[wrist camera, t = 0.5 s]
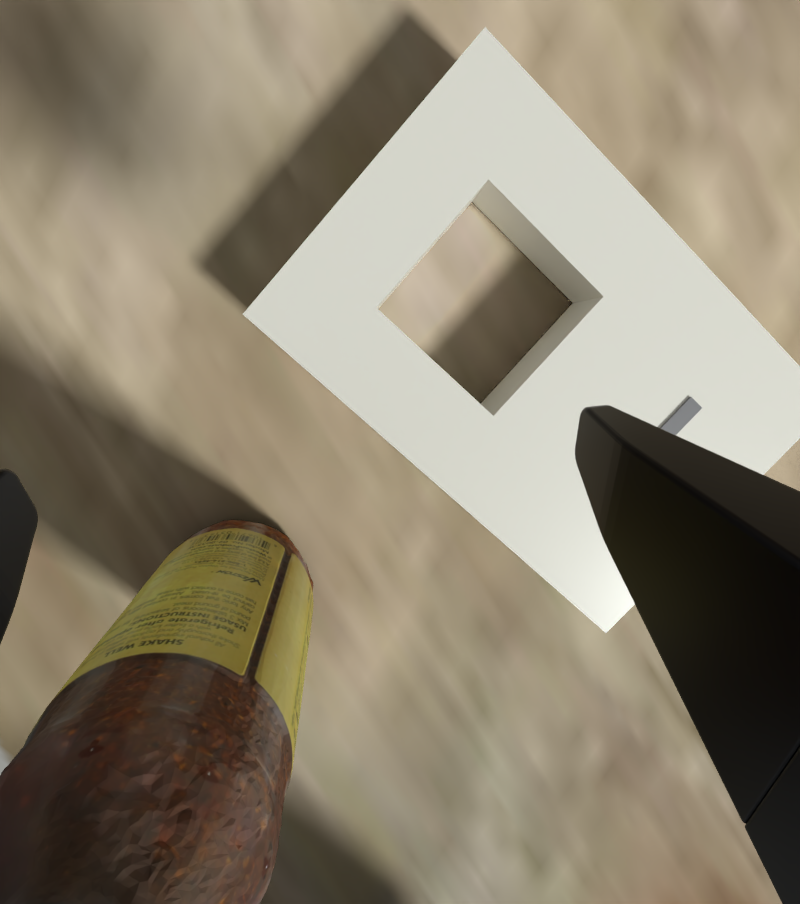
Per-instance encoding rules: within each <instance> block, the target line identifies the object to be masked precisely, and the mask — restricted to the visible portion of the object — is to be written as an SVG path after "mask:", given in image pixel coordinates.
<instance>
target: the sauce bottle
mask: <svg viewBox="0 0 800 904" xmlns="http://www.w3.org/2000/svg"><path fill="white" fill-rule="evenodd" d="M312 592H313V581H312V579H311V577H310V574H309V571H308V567H307V564H306V563H305V562H304V560H303V558H302V556H301V554H300V553H299V551H298V550H297V549H296V548H295V546H294V544H293V543H292V542H291V541H290V540H289V538H288V537H287V536H286V535H284V534H282V533H281V532H279V531H278V530H276V529H274V528H272V527H270V526H267V525H264V524H262V523H253V522H248V521H243V520H227V521H221V522H219V523H216V524H213V525H211V526H210V527H208V528H205V529H203V530H201V531H199V532H197V533H196V534H194V535H192V536H191V537H189V538H188V539H187V540H185V541H184V542H183V543H182V544H180V545H179V546H178V547H177V548H176V549H175V550H173V551H172V552H171V553H170V554H169V555H168V556H167V557H166V559H165V560H164V561H163V562H162V564H161V565H160V566H159V567H158V569H157V570H156V571H155V572H154V574H153V575H152V576H151V577H150V578H149V580H148V581H147V582H146V583H145V585H144V586H143V587H142V589H141V590H140V591H139V592H138V594H137V595H136V596H135V598H134V599H133V600H132V602H131V603H130V604H129V605H128V607H127V608H126V609H125V610H124V612H123V613H122V614H121V615H120V617H119V618H118V619H117V620H116V621H115V623H114V624H113V625H112V626H111V628H110V629H109V630H108V631H107V633H106V634H105V635H104V636H103V637H102V639H101V640H100V641H99V642H98V643H97V645H96V646H95V647H94V648H93V650H92V651H91V652H90V653H89V655H88V656H87V657H86V658H85V660H84V661H83V662H82V663H81V665H80V666H79V667H78V668H77V670H76V671H75V672H74V673H73V675H72V676H71V677H70V678H69V680H68V681H67V682H66V684H65V685H64V686H63V687H62V689H61V690H60V691H59V692H58V694H57V695H56V696H55V698H54V699H53V700H52V701H51V703H50V704H49V705H48V706H47V708H46V709H45V711H44V712H43V714H42V715H41V717H40V718H39V720H38V722H37V723H36V725H35V726H34V728H33V730H32V731H31V733H30V735H29V736H28V738H27V740H26V742H25V745H24V746H23V748H22V749H21V750H20V752H19V753H18V754H17V755H16V757H15V758H14V759H13V760H12V761H11V763H10V764H9V765H8V766H7V767H6V768H5V769H4V770H3V772H2V773H1V775H0V904H260V902H261V900H262V898H263V896H264V894H265V893H266V891H267V888H268V885H269V883H270V880H271V876H272V871H273V868H274V866H275V860H276V854H277V850H278V844H279V834H280V828H281V826H282V820H281V815H282V810H283V802H284V797H285V794H286V791H287V788H288V785H289V782H290V778H291V773H292V768H293V760H294V752H295V744H296V737H297V730H298V724H299V716H300V708H301V700H302V692H303V684H304V676H305V668H306V660H307V652H308V645H309V638H310V630H311V622H312V613H313V593H312Z"/></svg>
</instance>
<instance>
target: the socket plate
mask: <svg viewBox="0 0 800 904" xmlns="http://www.w3.org/2000/svg"><path fill="white" fill-rule="evenodd" d="M471 202H473V203H474V204H475V205H476V206H477V207H478V208H479V209H480V210H481V211H482V212H483V213H484V214H485V215H486V216H487V217H488V218H489V219H490V220H491V221H492V222H493V223H494V224H495V225H496V226H497V227H498V228H499V229H500V230H501V231H502V232H503V233H504V234H505V235H506V236H507V237H508V238H509V239H510V240H511V241H512V242H513V244H514V245H515V246H516V247H517V248H518V249H519V250H520V251H521V252H522V253H523V254H524V255H525V256H526V257H527V258H528V259H529V260H530V261H531V262H532V263H533V264H534V265H535V266H536V267H537V268H538V269H539V270H540V271H541V272H542V273H543V274H544V275H545V276H546V277H547V278H548V279H549V280H550V281H551V282H552V283H553V284H554V285H555V286H556V287H557V288H558V289H559V290H560V291H561V292H562V293H563V294H564V295H565V296H566V297H567V298H568V299H569V300H570V301H571V302H572V304H571V306H570V307H569V308H568V309H567V310H566V311H565V312H564V313H563V314H562V315H561V316H560V318H559V319H558V320H557V321H556V322H555V323H554V324H553V325H552V326H551V327H550V329H549V330H548V331H547V332H546V333H545V334H544V335H543V336H542V337H541V338H540V339H539V341H538V342H537V343H536V344H535V345H534V346H533V347H532V348H531V349H530V350H529V351H528V353H527V354H526V355H525V356H524V357H523V358H522V359H521V360H520V361H519V362H518V363H517V365H516V366H515V367H514V368H513V369H512V370H511V371H510V372H509V373H508V374H507V375H506V377H505V378H504V379H503V380H502V381H501V382H500V383H499V384H498V385H497V386H496V388H495V389H494V390H493V391H492V392H491V393H490V394H489V395H488V396H487V397H486V398H485V400H484V401H483V402H482V403H481V404H480V403H479V402H478V401H477V400H476V399H475V398H474V397H472V396H471V395H470V394H469V393H468V392H467V391H466V390H465V389H464V388H463V387H462V386H461V385H459V384H458V383H457V382H456V381H455V380H454V379H453V378H452V377H451V376H450V375H449V374H448V373H446V372H445V371H444V370H443V369H442V368H441V367H440V366H439V365H438V364H437V363H436V362H435V361H434V360H432V359H431V358H430V357H429V356H428V355H427V354H426V353H425V352H424V351H423V350H422V349H421V348H419V347H418V346H417V345H416V344H415V343H414V342H413V341H412V340H411V339H410V338H409V337H408V336H407V335H405V334H404V333H403V332H402V331H401V330H400V329H399V328H398V327H397V326H396V325H395V324H394V323H392V322H391V321H390V320H389V319H388V318H387V317H386V316H385V315H384V314H383V313H382V312H381V311H380V310H378V309H379V308H380V307H381V305H382V304H383V303H384V302H385V301H386V300H387V299H388V297H389V296H390V295H391V294H392V293H393V292H394V291H395V289H396V288H397V287H398V286H399V285H400V284H401V283H402V281H403V280H404V279H405V278H406V277H407V276H408V275H409V273H410V272H411V271H412V270H413V269H414V268H415V266H416V265H417V264H418V263H419V262H420V261H421V260H422V258H423V257H424V256H425V255H426V254H427V253H428V252H429V250H430V249H431V248H432V247H433V246H434V245H435V244H436V242H437V241H438V240H439V239H440V238H441V237H442V236H443V234H444V233H445V232H446V231H447V230H448V229H449V228H450V226H451V225H452V224H453V223H454V222H455V221H456V220H457V218H458V217H459V216H460V215H461V214H462V213H463V212H464V210H465V209H466V208H467V207H468V206H469V205H470V204H471ZM243 315H244V316H245V317H246V318H248V319H249V320H250V321H251V322H252V323H253V324H254V325H256V326H257V327H258V328H259V329H260V330H261V331H262V332H263V333H265V334H266V335H267V336H268V337H269V338H270V339H271V340H273V341H274V342H275V343H276V344H277V345H278V346H279V347H281V348H282V349H283V350H284V351H285V352H286V353H287V354H289V355H290V356H291V357H292V358H293V359H294V360H295V361H297V362H298V363H299V364H300V365H301V366H302V367H303V368H305V369H306V370H307V371H308V372H309V373H310V374H311V375H312V376H314V377H315V378H316V379H317V380H318V381H319V382H320V383H322V384H323V385H324V386H325V387H326V388H327V389H328V390H330V391H331V392H332V393H333V394H334V395H335V396H336V397H338V398H339V399H340V400H341V401H342V402H343V403H344V404H346V405H347V406H348V407H349V408H350V409H351V410H352V411H353V412H355V413H356V414H357V415H358V416H359V417H360V418H361V419H363V420H364V421H365V422H366V423H367V424H368V425H369V426H371V427H372V428H373V429H374V430H375V431H376V432H377V433H379V434H380V435H381V436H382V437H383V438H384V439H385V440H387V441H388V442H389V443H390V444H391V445H392V446H393V447H394V448H396V449H397V450H398V451H399V452H400V453H401V454H402V455H404V456H405V457H406V458H407V459H408V460H409V461H410V462H412V463H413V464H414V465H415V466H416V467H417V468H418V469H420V470H421V471H422V472H423V473H424V474H425V475H426V476H428V477H429V478H430V479H431V480H432V481H433V482H434V483H436V484H437V485H438V486H439V487H440V488H441V489H442V490H443V491H445V492H446V493H447V494H448V495H449V496H450V497H451V498H453V499H454V500H455V501H456V502H457V503H458V504H459V505H461V506H462V507H463V508H464V509H465V510H466V511H467V512H469V513H470V514H471V515H472V516H473V517H474V518H475V519H477V520H478V521H479V522H480V523H481V524H482V525H483V526H484V527H486V528H487V529H488V530H489V531H490V532H491V533H492V534H494V535H495V536H496V537H497V538H498V539H499V540H500V541H502V542H503V543H504V544H505V545H506V546H507V547H508V548H510V549H511V550H512V551H513V552H514V553H515V554H516V555H518V556H519V557H520V558H521V559H522V560H523V561H524V562H526V563H527V564H528V565H529V566H530V567H531V568H532V569H533V570H535V571H536V572H537V573H538V574H539V575H540V576H541V577H543V578H544V579H545V580H546V581H547V582H548V583H549V584H551V585H552V586H553V587H554V588H555V589H556V590H557V591H559V592H560V593H561V594H562V595H563V596H564V597H565V598H567V599H568V600H569V601H570V602H571V603H572V604H573V605H574V606H576V607H577V608H578V609H579V610H580V611H581V612H582V613H584V614H585V615H586V616H587V617H588V618H589V619H590V620H592V621H593V622H594V623H595V624H596V625H597V626H598V627H600V628H601V629H602V630H603V631H604V632H605V633H607V632H608V631H609V630H610V629H611V628H612V627H613V626H614V625H615V624H616V623H617V622H618V621H619V620H620V618H621V617H622V616H623V615H624V614H625V613H626V612H627V611H628V610H629V609H630V608H631V607H632V606H633V605H634V604H635V603H634V601H633V599H632V597H631V595H630V593H629V591H628V589H627V587H626V585H625V583H624V581H623V579H622V577H621V575H620V573H619V571H618V569H617V567H616V565H615V563H614V561H613V559H612V557H611V555H610V553H609V551H608V548H607V546H606V544H605V542H604V540H603V537H602V535H601V532H600V529H599V527H598V524H597V521H596V518H595V515H594V513H593V510H592V507H591V504H590V501H589V498H588V495H587V492H586V490H585V487H584V484H583V481H582V478H581V475H580V472H579V469H578V467H577V464H576V459H575V445H576V438H577V431H578V424H579V418H580V414H581V412H582V410H583V409H584V408H585V407H591V406H600V405H610V406H612V407H614V408H617V409H619V410H621V411H623V412H625V413H628V414H630V415H632V416H634V417H636V418H639V419H641V420H643V421H645V422H647V423H650V424H652V425H654V426H656V427H658V428H661V429H663V430H665V431H667V432H670V433H672V434H674V435H676V436H678V437H681V438H683V439H685V440H687V441H689V442H692V443H694V444H696V445H698V446H700V447H703V448H705V449H707V450H709V451H711V452H714V453H716V454H718V455H720V456H723V457H725V458H727V459H729V460H731V461H734V462H736V463H738V464H740V465H742V466H745V467H747V468H749V469H751V470H753V471H756V472H758V473H760V474H762V475H764V474H765V473H766V472H767V471H768V470H769V469H770V468H771V467H772V466H773V465H774V464H775V463H776V462H777V461H778V460H779V459H780V458H781V457H782V456H783V455H784V454H785V453H786V452H787V451H788V450H789V449H790V448H791V447H792V446H793V445H794V444H795V443H796V442H797V441H798V440H799V439H800V366H799V365H798V364H797V363H796V362H795V361H794V360H793V358H792V357H791V356H790V355H789V354H788V353H787V352H786V351H785V350H784V349H783V348H782V347H781V346H780V344H779V343H778V342H777V341H776V340H775V339H774V338H773V337H772V336H771V335H770V334H769V333H768V331H767V330H766V329H765V328H764V327H763V326H762V325H761V324H760V323H759V322H758V321H757V320H756V319H755V317H754V316H753V315H752V314H751V313H750V312H749V311H748V310H747V309H746V308H745V307H744V306H743V305H742V303H741V302H740V301H739V300H738V299H737V298H736V297H735V296H734V295H733V294H732V293H731V292H730V291H729V289H728V288H727V287H726V286H725V285H724V284H723V283H722V282H721V281H720V280H719V279H718V278H717V276H716V275H715V274H714V273H713V272H712V271H711V270H710V269H709V268H708V267H707V266H706V265H705V264H704V262H703V261H702V260H701V259H700V258H699V257H698V256H697V255H696V254H695V253H694V252H693V251H692V250H691V248H690V247H689V246H688V245H687V244H686V243H685V242H684V241H683V240H682V239H681V238H680V237H679V236H678V234H677V233H676V232H675V231H674V230H673V229H672V228H671V227H670V226H669V225H668V224H667V223H666V222H665V220H664V219H663V218H662V217H661V216H660V215H659V214H658V213H657V212H656V211H655V210H654V209H653V207H652V206H651V205H650V204H649V203H648V202H647V201H646V200H645V199H644V198H643V197H642V196H641V195H640V193H639V192H638V191H637V190H636V189H635V188H634V187H633V186H632V185H631V184H630V183H629V182H628V181H627V179H626V178H625V177H624V176H623V175H622V174H621V173H620V172H619V171H618V170H617V169H616V168H615V167H614V165H613V164H612V163H611V162H610V161H609V160H608V159H607V158H606V157H605V156H604V155H603V154H602V153H601V151H600V150H599V149H598V148H597V147H596V146H595V145H594V144H593V143H592V142H591V141H590V140H589V138H588V137H587V136H586V135H585V134H584V133H583V132H582V131H581V130H580V129H579V128H578V127H577V126H576V124H575V123H574V122H573V121H572V120H571V119H570V118H569V117H568V116H567V115H566V114H565V113H564V112H563V110H562V109H561V108H560V107H559V106H558V105H557V104H556V103H555V102H554V101H553V100H552V99H551V98H550V96H549V95H548V94H547V93H546V92H545V91H544V90H543V89H542V88H541V87H540V86H539V85H538V83H537V82H536V81H535V80H534V79H533V78H532V77H531V76H530V75H529V74H528V73H527V72H526V71H525V69H524V68H523V67H522V66H521V65H520V64H519V63H518V62H517V61H516V60H515V59H514V58H513V57H512V55H511V54H510V53H509V52H508V51H507V50H506V49H505V48H504V47H503V46H502V45H501V44H500V43H499V41H498V40H497V39H496V38H495V37H494V36H493V35H492V34H491V33H490V32H489V31H488V30H487V29H486V27H485V28H484V29H483V30H482V31H481V33H480V34H479V35H478V36H477V37H476V38H475V40H474V41H473V42H472V43H471V44H470V46H469V47H468V48H467V49H466V50H465V51H464V53H463V54H462V55H461V56H460V57H459V59H458V60H457V61H456V62H455V63H454V65H453V66H452V67H451V68H450V69H449V70H448V72H447V73H446V74H445V75H444V76H443V78H442V79H441V80H440V81H439V82H438V83H437V85H436V86H435V87H434V88H433V89H432V91H431V92H430V93H429V94H428V95H427V97H426V98H425V99H424V100H423V101H422V102H421V104H420V105H419V106H418V107H417V108H416V110H415V111H414V112H413V113H412V114H411V115H410V117H409V118H408V119H407V120H406V121H405V123H404V124H403V125H402V126H401V127H400V128H399V130H398V131H397V132H396V133H395V134H394V136H393V137H392V138H391V139H390V140H389V142H388V143H387V144H386V145H385V146H384V147H383V149H382V150H381V151H380V152H379V153H378V155H377V156H376V157H375V158H374V159H373V160H372V162H371V163H370V164H369V165H368V166H367V168H366V169H365V170H364V171H363V172H362V173H361V175H360V176H359V177H358V178H357V179H356V181H355V182H354V183H353V184H352V185H351V187H350V188H349V189H348V190H347V191H346V192H345V194H344V195H343V196H342V197H341V198H340V200H339V201H338V202H337V203H336V204H335V205H334V207H333V208H332V209H331V210H330V211H329V213H328V214H327V215H326V216H325V217H324V218H323V220H322V221H321V222H320V223H319V224H318V226H317V227H316V228H315V229H314V230H313V232H312V233H311V234H310V235H309V236H308V237H307V239H306V240H305V241H304V242H303V243H302V245H301V246H300V247H299V248H298V249H297V250H296V252H295V253H294V254H293V255H292V256H291V258H290V259H289V260H288V261H287V262H286V263H285V265H284V266H283V267H282V268H281V269H280V271H279V272H278V273H277V274H276V275H275V277H274V278H273V279H272V280H271V281H270V282H269V284H268V285H267V286H266V287H265V288H264V290H263V291H262V292H261V293H260V294H259V295H258V297H257V298H256V299H255V300H254V301H253V303H252V304H251V305H250V306H249V307H248V309H247V310H246V311H245V312H244V313H243Z"/></svg>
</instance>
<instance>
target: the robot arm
mask: <svg viewBox="0 0 800 904" xmlns="http://www.w3.org/2000/svg"><path fill="white" fill-rule="evenodd" d="M575 459H576V464H577V467H578V469H579V472H580V475H581V478H582V481H583V484H584V487H585V490H586V492H587V495H588V498H589V501H590V504H591V507H592V510H593V513H594V515H595V518H596V521H597V524H598V527H599V529H600V532H601V535H602V537H603V540H604V542H605V544H606V546H607V548H608V551H609V553H610V555H611V557H612V559H613V561H614V563H615V565H616V567H617V569H618V571H619V573H620V575H621V577H622V579H623V581H624V583H625V585H626V587H627V589H628V591H629V593H630V595H631V597H632V599H633V601H634V603H635V605H636V607H637V609H638V611H639V613H640V615H641V617H642V619H643V621H644V623H645V625H646V627H647V629H648V631H649V634H650V636H651V638H652V640H653V642H654V644H655V646H656V648H657V650H658V652H659V654H660V656H661V658H662V660H663V662H664V664H665V666H666V668H667V670H668V672H669V674H670V676H671V678H672V680H673V682H674V684H675V686H676V688H677V690H678V692H679V694H680V696H681V698H682V700H683V702H684V704H685V706H686V708H687V710H688V712H689V714H690V716H691V719H692V721H693V723H694V725H695V727H696V729H697V731H698V733H699V735H700V737H701V739H702V741H703V743H704V745H705V747H706V749H707V751H708V753H709V755H710V757H711V759H712V761H713V763H714V765H715V767H716V769H717V771H718V773H719V775H720V777H721V779H722V781H723V783H724V785H725V787H726V789H727V791H728V793H729V795H730V797H731V799H732V801H733V803H734V806H735V808H736V810H737V812H738V814H739V816H740V818H741V820H742V821H743V822H744V823H746V825H745V829H746V831H747V833H748V835H749V837H750V839H751V841H752V843H753V845H754V847H755V849H756V851H757V853H758V855H759V857H760V859H761V861H762V863H763V865H764V867H765V869H766V871H767V873H768V875H769V877H770V879H771V881H772V883H773V885H774V887H775V889H776V891H777V893H778V895H779V897H780V899H781V901H782V904H800V491H798V490H795V489H793V488H791V487H789V486H787V485H784V484H782V483H780V482H778V481H776V480H773V479H771V478H769V477H767V476H764V475H762V474H760V473H758V472H756V471H753V470H751V469H749V468H747V467H745V466H742V465H740V464H738V463H736V462H734V461H731V460H729V459H727V458H725V457H723V456H720V455H718V454H716V453H714V452H711V451H709V450H707V449H705V448H703V447H700V446H698V445H696V444H694V443H692V442H689V441H687V440H685V439H683V438H681V437H678V436H676V435H674V434H672V433H670V432H667V431H665V430H663V429H661V428H658V427H656V426H654V425H652V424H650V423H647V422H645V421H643V420H641V419H639V418H636V417H634V416H632V415H630V414H628V413H625V412H623V411H621V410H619V409H617V408H614V407H612V406H610V405H600V406H591V407H585V408H584V409H583V410H582V412H581V414H580V418H579V424H578V431H577V438H576V445H575ZM37 522H38V516H37V511H36V508H35V506H34V504H33V503H32V501H31V499H30V497H29V496H28V494H27V492H26V491H25V489H24V487H23V485H22V484H21V482H20V480H19V478H18V477H17V475H16V474H15V473H14V472H12V471H11V470H8V469H0V644H1V641H2V639H3V636H4V634H5V631H6V629H7V626H8V624H9V621H10V618H11V615H12V613H13V610H14V607H15V604H16V600H17V597H18V594H19V590H20V586H21V583H22V579H23V575H24V572H25V568H26V564H27V560H28V557H29V553H30V549H31V545H32V542H33V538H34V534H35V531H36V527H37Z"/></svg>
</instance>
